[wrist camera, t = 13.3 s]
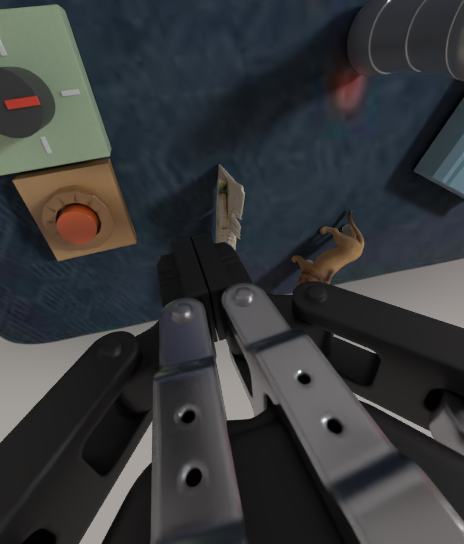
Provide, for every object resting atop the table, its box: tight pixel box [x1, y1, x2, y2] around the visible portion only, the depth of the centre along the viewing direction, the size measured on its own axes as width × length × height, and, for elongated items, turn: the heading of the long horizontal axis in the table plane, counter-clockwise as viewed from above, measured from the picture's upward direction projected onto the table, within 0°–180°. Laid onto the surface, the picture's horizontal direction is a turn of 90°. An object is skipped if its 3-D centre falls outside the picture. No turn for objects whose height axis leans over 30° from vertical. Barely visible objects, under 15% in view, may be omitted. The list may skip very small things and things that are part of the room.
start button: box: [56, 205, 98, 244], centre depth 30 cm, size 4×4×2 cm
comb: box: [216, 164, 245, 250], centre depth 35 cm, size 15×2×10 cm, turn 178°
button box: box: [12, 158, 136, 261], centre depth 31 cm, size 10×9×4 cm
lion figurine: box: [292, 210, 364, 285], centre depth 42 cm, size 15×5×9 cm, turn 144°
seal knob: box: [0, 67, 55, 138], centre depth 22 cm, size 4×4×5 cm
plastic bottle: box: [347, 0, 464, 81], centre depth 23 cm, size 6×7×20 cm
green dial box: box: [0, 4, 111, 176], centre depth 25 cm, size 11×10×3 cm
